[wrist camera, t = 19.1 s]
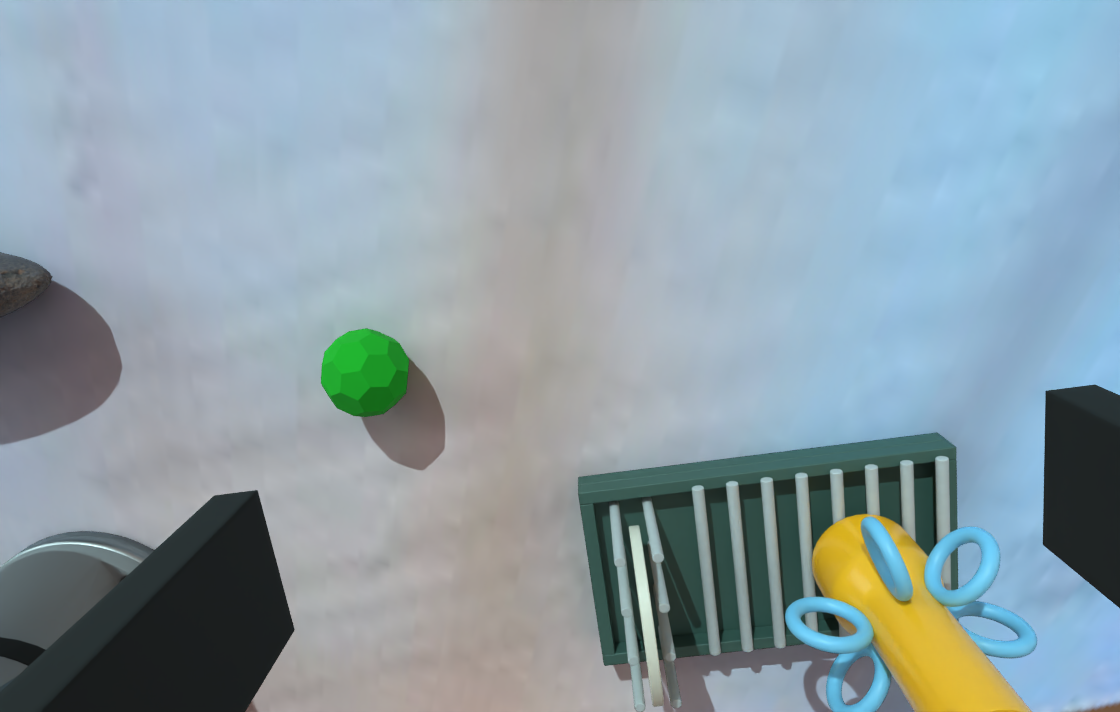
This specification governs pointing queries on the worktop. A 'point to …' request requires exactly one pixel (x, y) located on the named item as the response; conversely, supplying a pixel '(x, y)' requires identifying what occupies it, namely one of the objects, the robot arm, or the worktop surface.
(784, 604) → the dish rack
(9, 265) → the perforated stone tool
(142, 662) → the robot arm
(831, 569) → the cylinder
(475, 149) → the worktop surface
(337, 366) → the polyhedron
